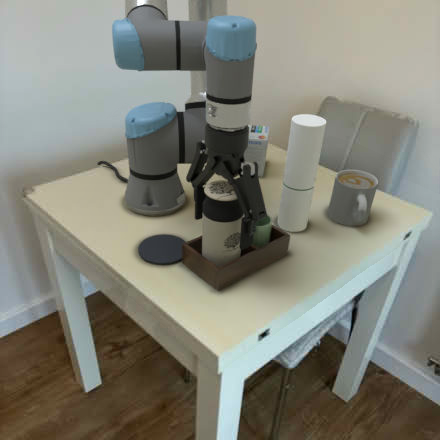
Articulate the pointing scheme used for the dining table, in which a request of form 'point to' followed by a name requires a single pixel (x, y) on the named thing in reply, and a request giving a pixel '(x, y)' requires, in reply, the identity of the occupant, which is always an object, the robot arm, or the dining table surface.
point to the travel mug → (221, 223)
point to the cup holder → (238, 268)
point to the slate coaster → (161, 249)
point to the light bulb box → (257, 146)
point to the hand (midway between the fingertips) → (222, 231)
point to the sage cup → (262, 232)
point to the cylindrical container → (300, 171)
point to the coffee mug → (352, 197)
